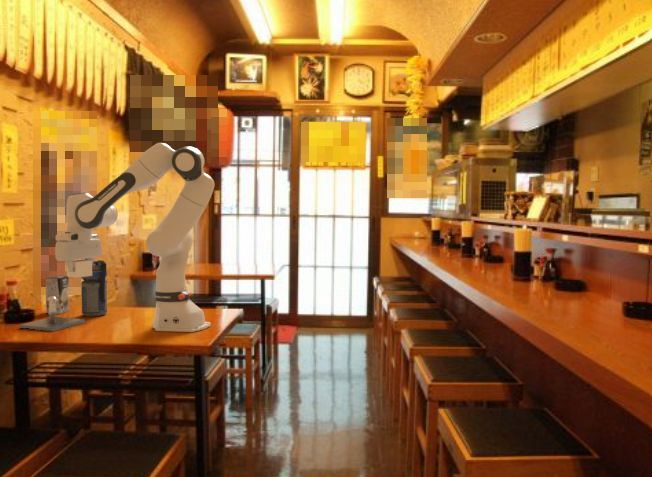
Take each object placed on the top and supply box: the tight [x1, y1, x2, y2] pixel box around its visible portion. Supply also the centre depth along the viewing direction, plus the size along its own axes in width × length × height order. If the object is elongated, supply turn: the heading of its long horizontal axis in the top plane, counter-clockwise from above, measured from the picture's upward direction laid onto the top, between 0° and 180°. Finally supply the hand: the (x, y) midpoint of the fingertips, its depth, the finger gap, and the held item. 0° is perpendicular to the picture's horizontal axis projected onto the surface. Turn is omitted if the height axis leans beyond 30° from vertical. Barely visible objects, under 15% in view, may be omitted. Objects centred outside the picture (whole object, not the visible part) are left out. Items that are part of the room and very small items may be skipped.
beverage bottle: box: [80, 259, 108, 318], centre depth 217 cm, size 10×13×25 cm
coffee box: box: [45, 275, 70, 315], centre depth 224 cm, size 9×6×16 cm
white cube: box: [66, 259, 92, 279], centre depth 192 cm, size 6×6×6 cm
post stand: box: [19, 297, 86, 333], centre depth 197 cm, size 16×16×12 cm
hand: (80, 270), depth 192 cm, fingers closed on white cube, 7 cm apart
